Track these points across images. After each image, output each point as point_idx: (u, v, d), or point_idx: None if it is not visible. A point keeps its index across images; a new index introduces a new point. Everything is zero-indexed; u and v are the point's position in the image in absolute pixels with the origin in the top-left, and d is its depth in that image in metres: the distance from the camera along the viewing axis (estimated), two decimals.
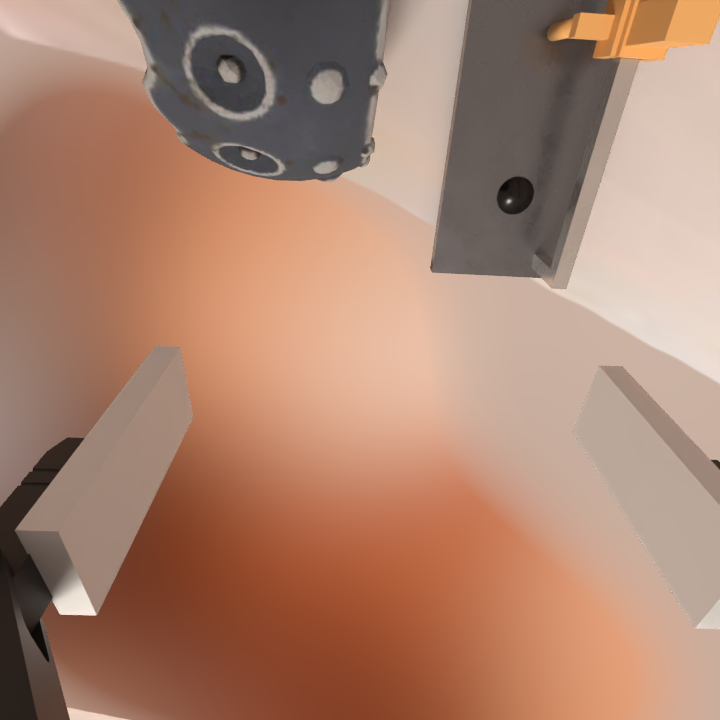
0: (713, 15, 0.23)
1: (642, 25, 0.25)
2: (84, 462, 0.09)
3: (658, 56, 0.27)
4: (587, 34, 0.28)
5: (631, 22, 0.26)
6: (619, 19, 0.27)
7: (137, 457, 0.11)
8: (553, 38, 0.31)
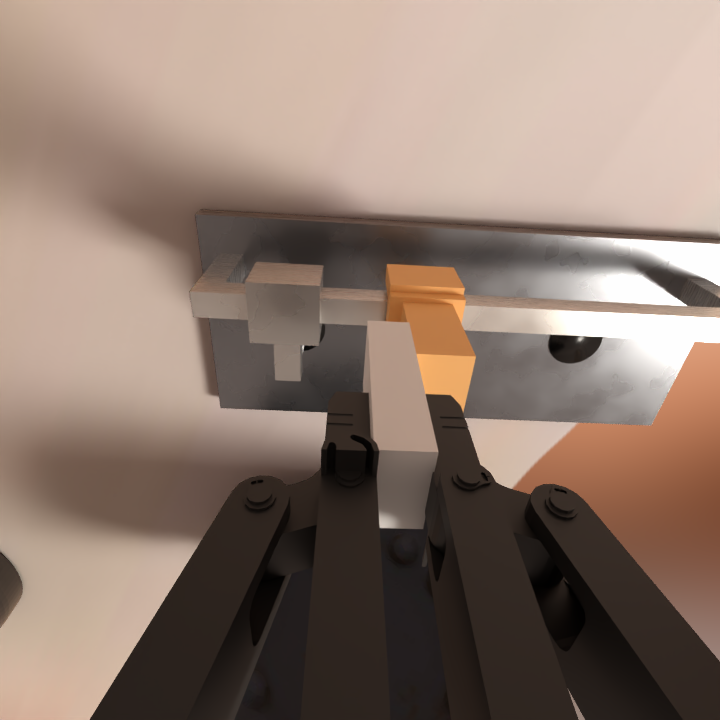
0: (438, 363, 0.14)
1: None
2: (386, 405, 0.12)
3: (461, 309, 0.18)
4: None
5: None
6: None
7: None
8: None
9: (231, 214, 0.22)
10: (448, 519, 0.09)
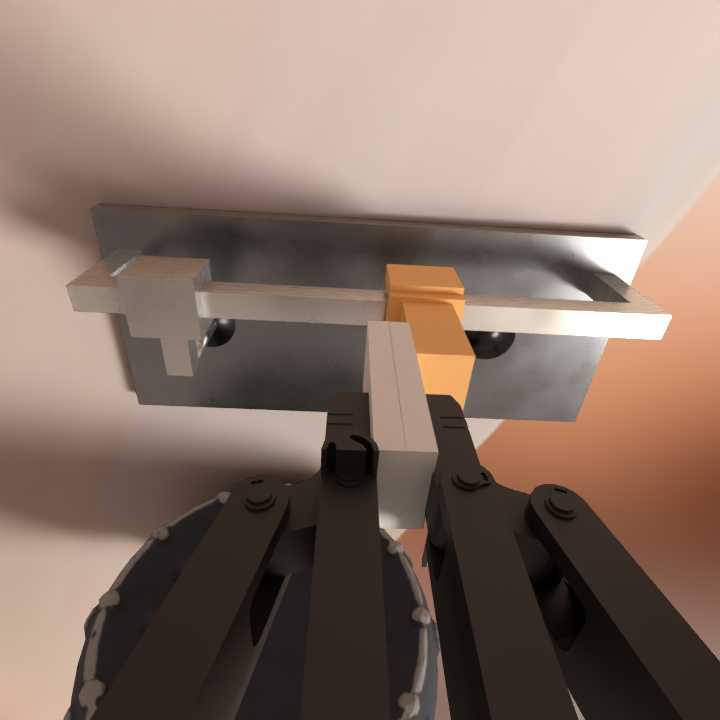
0: (438, 362, 0.15)
1: None
2: (386, 405, 0.12)
3: (461, 309, 0.18)
4: None
5: None
6: None
7: None
8: None
9: (128, 208, 0.22)
10: (448, 519, 0.09)
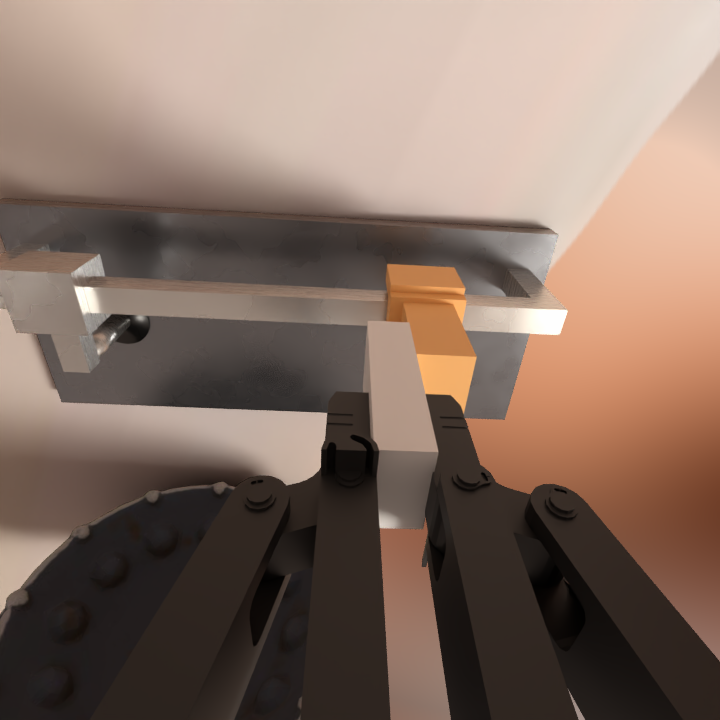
0: (438, 363, 0.14)
1: None
2: (386, 405, 0.12)
3: (462, 309, 0.18)
4: None
5: None
6: None
7: None
8: None
9: (30, 203, 0.22)
10: (448, 519, 0.09)
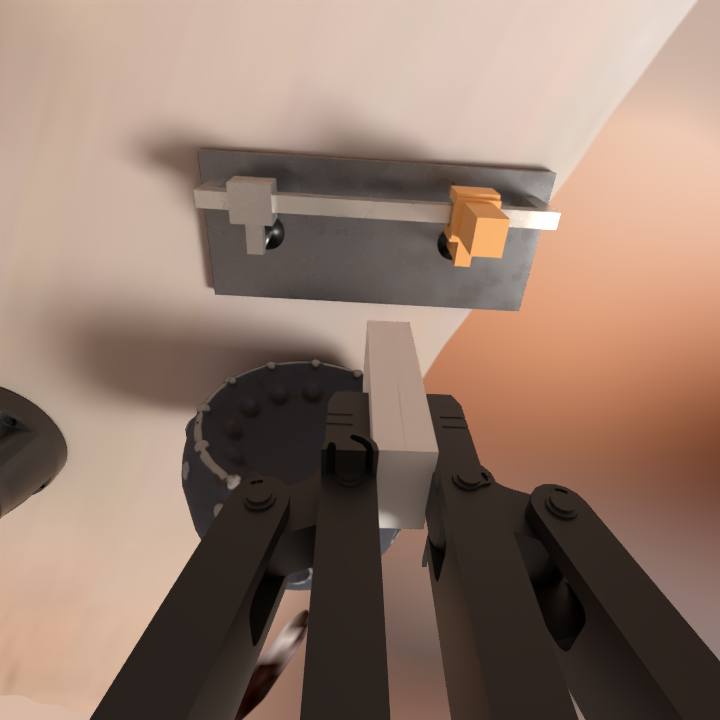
0: (490, 223, 0.27)
1: None
2: (386, 405, 0.12)
3: (498, 207, 0.30)
4: (469, 256, 0.34)
5: None
6: None
7: None
8: None
9: (220, 151, 0.35)
10: (448, 519, 0.09)
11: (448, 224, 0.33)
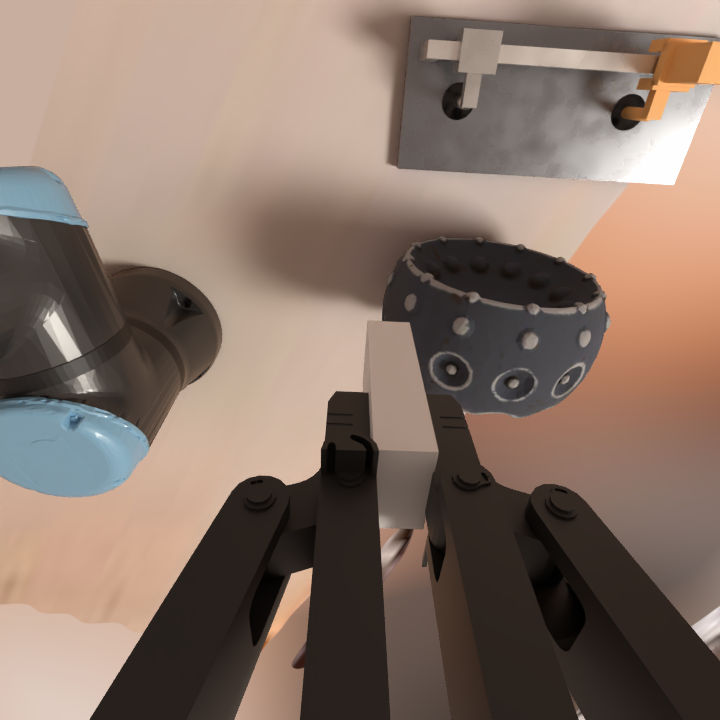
0: None
1: (688, 83, 0.34)
2: (386, 405, 0.12)
3: None
4: (662, 109, 0.37)
5: (675, 84, 0.35)
6: None
7: None
8: None
9: None
10: (448, 519, 0.09)
11: (645, 78, 0.37)
